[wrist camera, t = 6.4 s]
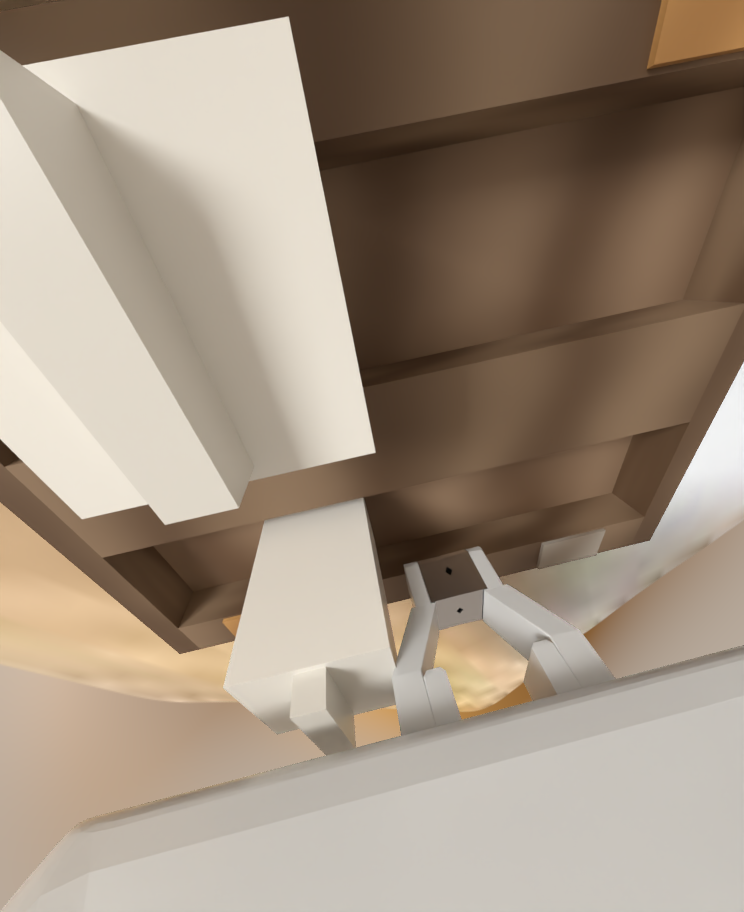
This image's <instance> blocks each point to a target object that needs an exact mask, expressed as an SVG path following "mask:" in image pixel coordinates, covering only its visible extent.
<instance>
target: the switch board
mask: <svg viewBox="0 0 744 912" xmlns="http://www.w3.org/2000/svg"><path fill="white" fill-rule="evenodd" d="M283 17H289V21H290V26H291V31H292V36H293V41H294V46H295V51H296V56H297V61H298V66H299V71H300V76H301V81H302V86H303V91H304V96H305V101H306V106H307V111H308V116H309V121H310V126H311V131H312V136H313V141H314V146H315V151H316V156H317V161H318V166H319V171H320V176H321V181H322V186H323V191H324V196H325V201H326V206H327V211H328V216H329V221H330V226H331V231H332V236H333V241H334V246H335V251H336V256H337V261H338V266H339V271H340V276H341V281H342V287H343V292H344V297H345V302H346V307H347V312H348V317H349V322H350V327H351V332H352V337H353V342H354V347H355V352H356V357H357V362H358V367H359V372H360V377H361V382H362V387H363V392H364V397H365V402H366V407H367V412H368V417H369V422H370V427H371V432H372V437H373V442H374V447H375V452H376V453H372V454H367V455H363V456H359V457H354V458H350V459H345V460H341V461H337V462H332V463H328V464H323V465H319V466H315V467H310V468H306V469H301V470H297V471H293V472H288V473H284V474H279V475H275V476H271V477H266V478H262V479H257V480H253V481H249V482H248V485H247V488H246V490H245V493H244V496H243V498H242V501H241V504H240V506H239V508H237V509H233V510H228V511H224V512H219V513H215V514H211V515H206V516H202V517H198V518H193V519H189V520H185V521H180V522H176V523H171V524H167V525H165V524H164V523H163V522H162V521H161V519H160V518H159V517H158V516H157V515H156V513H155V512H154V511H153V510H152V508H151V507H150V506H149V505H148V504H147V505H143V506H138V507H134V508H130V509H125V510H121V511H116V512H112V513H108V514H103V515H99V516H94V517H90V518H86V519H81V518H80V517H79V516H78V515H77V514H76V513H75V512H74V511H73V510H72V509H71V508H70V507H69V506H68V505H67V504H66V503H65V502H64V501H63V500H62V499H61V498H60V497H59V496H58V495H57V494H56V493H54V492H53V491H52V490H51V489H50V488H49V487H48V486H47V485H46V484H45V483H44V482H43V481H42V480H41V479H40V478H39V477H38V476H37V475H36V474H35V473H34V472H33V471H32V470H31V469H30V468H29V467H28V466H27V465H26V464H25V463H24V462H23V461H22V460H21V459H20V458H19V457H18V456H17V455H16V454H15V453H14V452H13V451H12V450H11V449H10V448H9V447H8V446H7V445H6V444H5V443H4V442H3V441H2V440H0V502H1V503H2V504H3V505H4V506H6V507H7V508H8V509H9V510H10V511H12V512H13V513H14V514H15V515H16V516H17V517H19V518H20V519H21V520H22V521H23V522H25V523H26V524H27V525H28V526H29V527H30V528H32V529H33V530H34V531H35V532H36V533H38V534H39V535H40V536H41V537H42V538H43V539H45V540H46V541H47V542H48V543H49V544H51V545H52V546H53V547H54V548H55V549H56V550H58V551H59V552H60V553H61V554H62V555H64V556H65V557H66V558H67V559H68V560H69V561H71V562H72V563H73V564H74V565H75V566H76V567H78V568H79V569H80V570H81V571H82V572H84V573H85V574H86V575H87V576H88V577H89V578H91V579H92V580H93V581H94V582H95V583H97V584H98V585H99V586H100V587H101V588H102V589H104V590H105V591H106V592H107V593H108V594H110V595H111V596H112V597H113V598H114V599H115V600H117V601H118V602H119V603H120V604H121V605H123V606H124V607H125V608H126V609H127V610H128V611H130V612H131V613H132V614H133V615H134V616H136V617H137V618H138V619H139V620H140V621H141V622H143V623H144V624H145V625H146V626H147V627H149V628H150V629H151V630H152V631H153V632H154V633H156V634H157V635H158V636H159V637H160V638H162V639H163V640H164V641H165V642H166V643H167V644H169V645H170V646H171V647H172V648H173V649H175V650H176V651H177V652H178V653H179V654H182V653H186V652H190V651H194V650H199V649H203V648H207V647H211V646H215V645H219V644H223V643H228V642H232V641H235V638H236V634H237V630H238V626H239V622H240V618H241V614H242V610H243V605H244V601H245V597H246V593H247V589H248V585H249V581H250V577H251V573H252V569H253V565H254V561H255V557H256V553H257V549H258V545H259V541H260V537H261V533H262V529H263V525H264V521H265V520H268V519H272V518H277V517H281V516H285V515H290V514H294V513H298V512H303V511H307V510H311V509H316V508H320V507H324V506H329V505H333V504H337V503H342V502H346V501H350V500H355V499H359V498H363V497H364V500H365V504H366V508H367V512H368V516H369V520H370V524H371V528H372V532H373V536H374V540H375V544H376V549H377V555H378V560H379V565H380V570H381V575H382V580H383V586H384V591H385V596H386V601H387V604H389V603H393V602H397V601H401V600H405V599H410V595H409V590H408V586H407V581H406V576H405V571H404V566H403V565H404V564H408V563H412V562H417V561H421V560H425V559H430V558H434V557H438V556H441V555H445V554H448V553H452V552H456V551H460V550H463V549H469V548H473V547H476V546H479V547H480V548H482V550H483V552H484V553H485V555H486V557H487V558H488V560H489V562H490V563H491V565H492V567H493V568H494V570H495V572H496V573H497V575H498V577H501V576H505V575H509V574H513V573H517V572H521V571H525V570H529V569H534V568H538V569H541V568H545V567H550V566H554V565H558V564H562V563H566V562H570V561H574V560H579V559H583V558H587V557H591V556H595V555H596V554H597V553H600V552H604V551H608V550H612V549H616V548H620V547H625V546H629V545H633V544H637V543H641V542H645V541H649V540H650V539H651V537H652V535H653V533H654V531H655V529H656V528H657V526H658V524H659V522H660V520H661V518H662V516H663V514H664V512H665V510H666V508H667V507H668V505H669V503H670V501H671V499H672V497H673V495H674V493H675V491H676V489H677V488H678V486H679V484H680V482H681V480H682V478H683V476H684V474H685V472H686V470H687V468H688V467H689V465H690V463H691V461H692V459H693V457H694V455H695V453H696V451H697V449H698V448H699V446H700V444H701V442H702V440H703V438H704V436H705V434H706V432H707V430H708V428H709V427H710V425H711V423H712V421H713V419H714V417H715V415H716V413H717V411H718V409H719V408H720V406H721V404H722V402H723V400H724V398H725V396H726V394H727V392H728V390H729V388H730V387H731V385H732V383H733V381H734V379H735V377H736V375H737V373H738V371H739V369H740V368H741V366H742V364H743V362H744V0H59V1H54V2H48V3H43V4H37V5H32V6H26V7H20V8H15V9H9V10H4V11H0V50H1V51H2V52H4V53H5V54H6V55H8V56H9V57H11V58H12V59H13V60H15V61H16V62H18V63H19V64H21V65H28V64H33V63H39V62H44V61H50V60H55V59H60V58H66V57H71V56H77V55H82V54H88V53H93V52H99V51H104V50H109V49H115V48H120V47H126V46H131V45H137V44H142V43H147V42H153V41H158V40H164V39H169V38H175V37H180V36H185V35H191V34H196V33H202V32H207V31H213V30H218V29H223V28H229V27H234V26H240V25H245V24H251V23H256V22H261V21H267V20H272V19H278V18H283Z"/></svg>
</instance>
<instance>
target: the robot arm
mask: <svg viewBox="0 0 744 912" xmlns="http://www.w3.org/2000/svg"><path fill="white" fill-rule="evenodd" d="M403 566H404V571H405V576H406V581H407V586H408V590H409V595H410V598H411V602H412V606H413V608H412V609H411V612H410V615H409V619H408V622H407V626H406V629H405V633H404V636H403V640H402V643H401V647H400V650H399V654H398V657H397V661H396V664H395V666H396V668H394V671H393V675H392V683H393V689H394V695H395V701H396V707H397V713H398V719H399V725H400V731H401V736H399V737H395V738H391V739H387V740H383V741H380V742H376V743H372V744H368V745H365V746H361V747H357V748H353V749H349V750H345V751H342V752H338V753H334V754H330V755H327V756H323V757H319V758H315V759H311V760H308V761H304V762H300V763H297V764H292V765H289V766H285V767H281V768H278V769H274V770H270V771H266V772H262V773H258V774H255V775H251V776H247V777H243V778H240V779H236V780H232V781H228V782H225V783H221V784H217V785H213V786H210V787H205V788H202V789H198V790H194V791H190V792H187V793H183V794H179V795H176V796H172V797H168V798H164V799H160V800H156V801H153V802H149V803H145V804H141V805H138V806H134V807H130V808H126V809H122V810H118V811H114V812H111V813H107V814H103V815H99V816H95V817H93V818H89V819H87V820H85V821H83V822H80V823H79V824H77V825H76V826H75V827H74V828H72V829H71V830H70V831H69V832H68V833H67V834H66V835H65V836H64V837H63V838H62V839H61V840H60V842H59V843H58V844H57V845H56V846H55V847H54V848H53V849H52V850H51V851H50V853H49V854H48V855H47V856H46V857H45V858H44V860H43V861H42V862H41V863H40V864H39V866H38V867H37V868H36V869H35V870H34V871H33V873H32V874H31V875H30V876H29V877H28V878H27V880H26V881H25V882H24V883H23V884H22V886H21V887H20V888H19V889H18V890H17V892H16V893H15V894H14V895H13V896H12V898H11V899H10V900H9V901H8V902H7V904H6V905H5V906H4V907H3V909H2V910H1V911H0V912H744V645H743V646H739V647H736V648H731V649H728V650H724V651H720V652H717V653H712V654H709V655H705V656H701V657H698V658H694V659H690V660H686V661H682V662H679V663H675V664H671V665H667V666H663V667H660V668H656V669H652V670H649V671H645V672H641V673H637V674H633V675H629V676H625V677H622V678H618V679H616V678H615V677H614V676H613V674H612V673H611V672H610V670H609V669H608V668H607V667H606V665H605V663H604V662H603V661H602V659H601V658H600V657H599V655H598V654H597V653H596V651H595V650H594V649H593V647H592V646H591V645H590V643H589V642H588V640H587V639H586V638H585V637H584V635H583V634H582V632H581V631H580V630H579V629H578V628H576V627H574V626H573V625H571V624H570V623H568V622H567V621H565V620H563V619H562V618H560V617H559V616H557V615H556V614H554V613H552V612H551V611H549V610H548V609H546V608H545V607H543V606H541V605H540V604H538V603H537V602H535V601H534V600H532V599H530V598H529V597H527V596H526V595H524V594H523V593H521V592H519V591H518V590H516V589H515V588H513V587H512V586H510V585H508V584H505V585H503V583H502V581H501V580H500V578H499V577H498V575H497V573H496V572H495V570H494V568H493V567H492V565H491V563H490V562H489V560H488V558H487V557H486V555H485V553H484V552H483V550H482V548H480V547H479V546H476V547H473V548H469V549H463V550H460V551H456V552H452V553H448V554H445V555H441V556H438V557H434V558H430V559H425V560H421V561H417V562H412V563H408V564H404V565H403ZM482 619H483V621H484V622H485V623H486V624H487V625H488V626H489V627H491V628H492V629H493V630H494V631H495V632H496V633H497V634H498V635H500V636H501V637H502V638H503V639H504V640H505V641H506V642H508V643H509V644H510V645H511V646H512V647H513V648H514V649H515V650H517V651H518V652H519V653H520V654H521V655H522V656H523V657H525V658H526V659H527V660H528V661H529V662H528V666H527V670H526V674H525V678H524V684H525V686H526V688H527V690H528V692H529V694H530V696H531V698H532V700H533V701H531V702H527V703H523V704H520V705H516V706H512V707H508V708H505V709H501V710H497V711H493V712H489V713H485V714H482V715H478V716H475V717H470V718H467V719H463V720H462V719H461V716H460V713H459V710H458V707H457V704H456V701H455V698H454V695H453V692H452V689H451V685H450V682H449V679H448V676H447V673H446V671H445V670H444V669H442V668H440V667H438V668H434V669H433V666H434V661H435V655H436V649H437V643H438V637H439V630H442V629H446V628H449V627H453V626H456V625H460V624H464V623H468V622H473V621H477V620H482Z"/></svg>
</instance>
